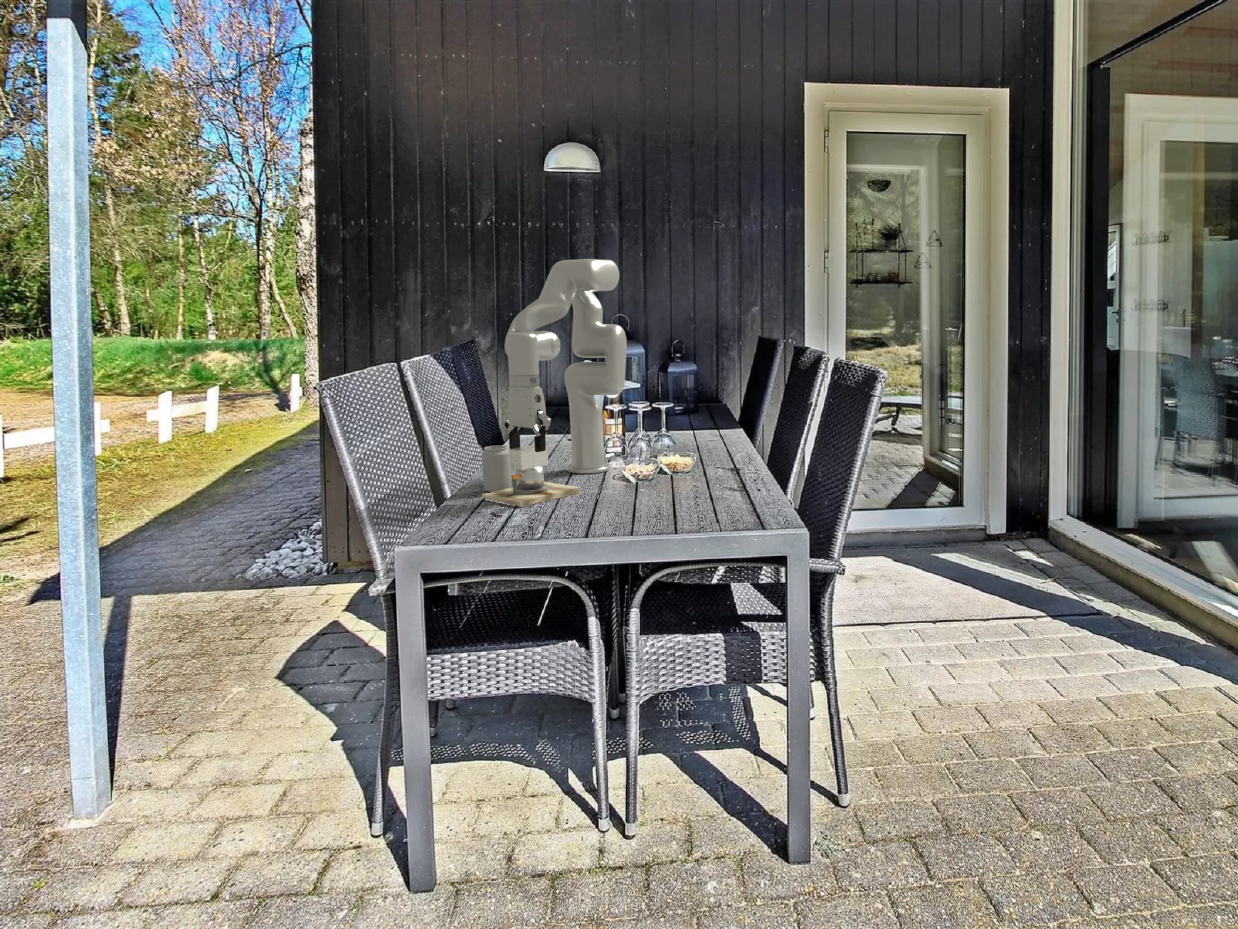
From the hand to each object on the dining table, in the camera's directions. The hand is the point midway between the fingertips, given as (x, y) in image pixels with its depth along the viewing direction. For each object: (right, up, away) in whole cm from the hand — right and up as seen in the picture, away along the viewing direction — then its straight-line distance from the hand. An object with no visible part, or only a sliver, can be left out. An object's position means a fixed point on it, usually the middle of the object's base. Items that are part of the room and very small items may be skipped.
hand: (527, 449), depth 221 cm
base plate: (+1, -12, +3) cm, 12 cm away
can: (-9, -11, +11) cm, 18 cm away
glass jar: (+1, -10, +2) cm, 10 cm away
